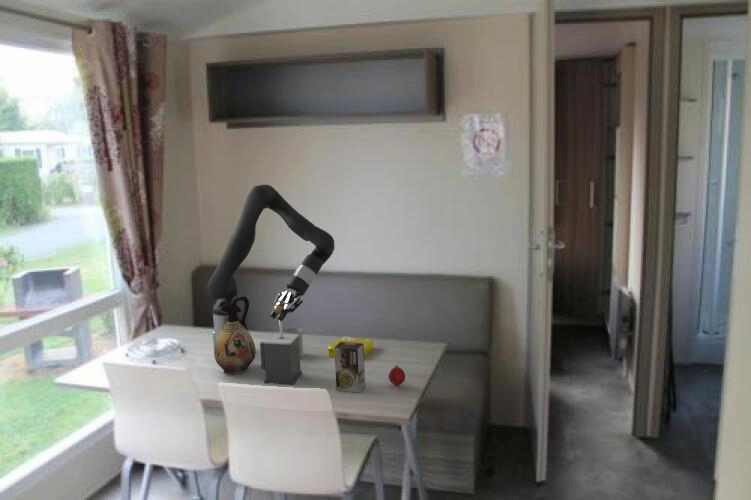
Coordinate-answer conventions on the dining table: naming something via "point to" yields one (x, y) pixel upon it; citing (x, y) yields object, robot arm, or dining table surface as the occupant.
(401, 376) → the onion
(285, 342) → the gray rectangular box
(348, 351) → the coffee box
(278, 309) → the plunger
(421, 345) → the dining table surface
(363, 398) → the dining table surface
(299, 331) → the mug
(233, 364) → the ceramic jug
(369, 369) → the dining table surface
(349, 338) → the element tile
